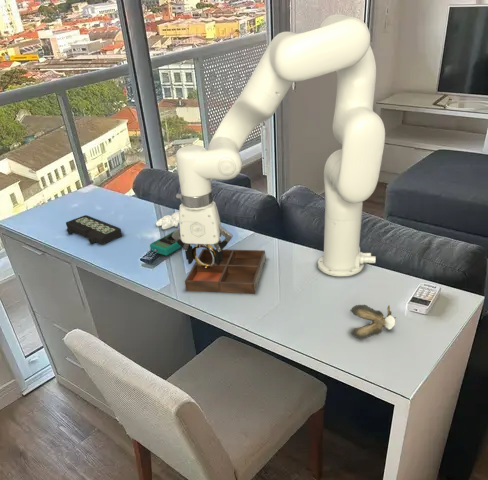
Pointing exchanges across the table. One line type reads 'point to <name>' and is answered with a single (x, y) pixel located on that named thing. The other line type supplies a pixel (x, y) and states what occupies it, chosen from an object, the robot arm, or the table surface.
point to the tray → (227, 272)
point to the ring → (210, 252)
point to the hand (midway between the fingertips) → (205, 261)
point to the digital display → (93, 229)
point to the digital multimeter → (165, 245)
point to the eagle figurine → (376, 319)
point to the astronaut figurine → (169, 221)
